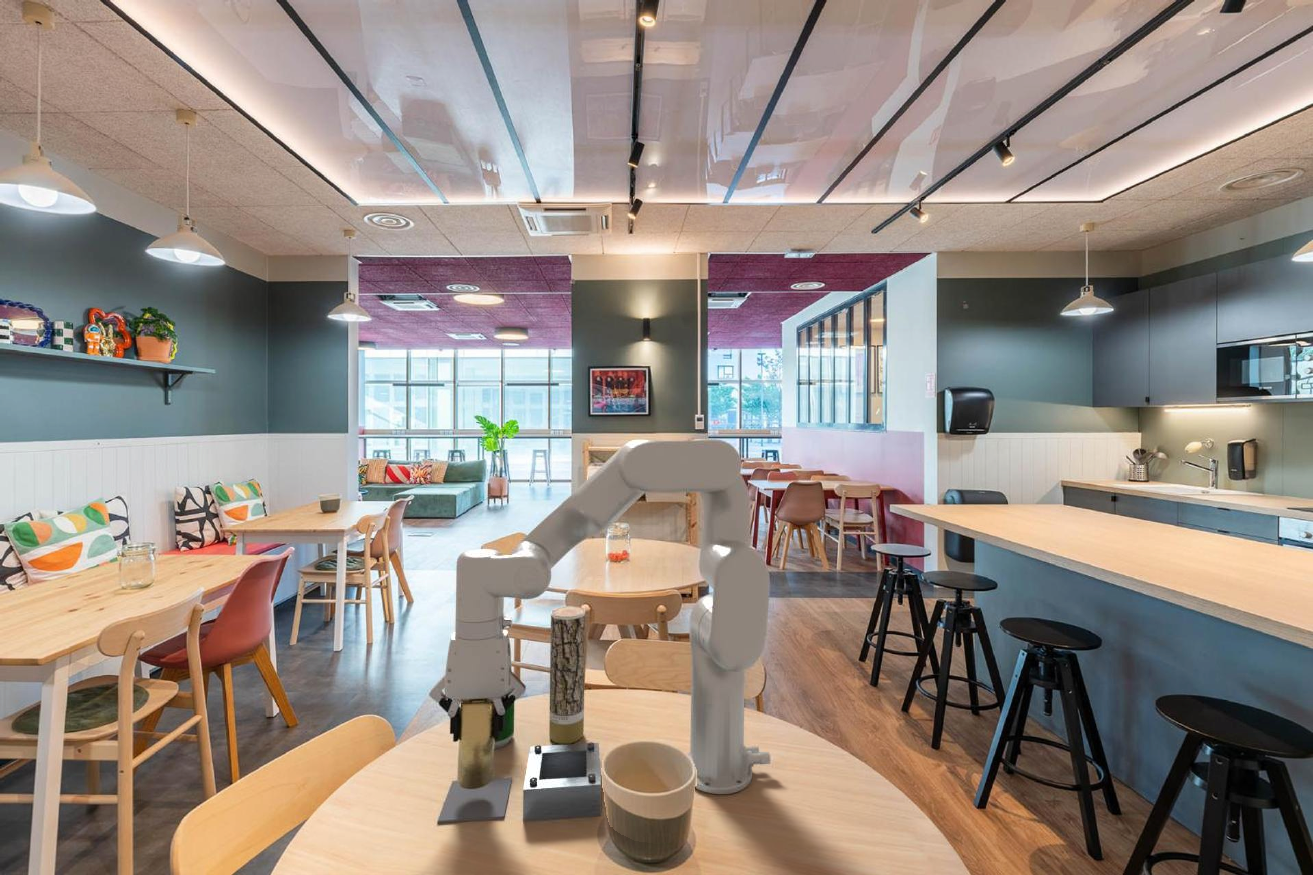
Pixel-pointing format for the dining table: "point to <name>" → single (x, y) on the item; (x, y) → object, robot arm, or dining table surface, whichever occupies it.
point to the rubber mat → (476, 802)
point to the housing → (562, 782)
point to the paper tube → (567, 674)
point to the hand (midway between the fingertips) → (477, 735)
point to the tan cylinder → (476, 743)
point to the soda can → (507, 724)
